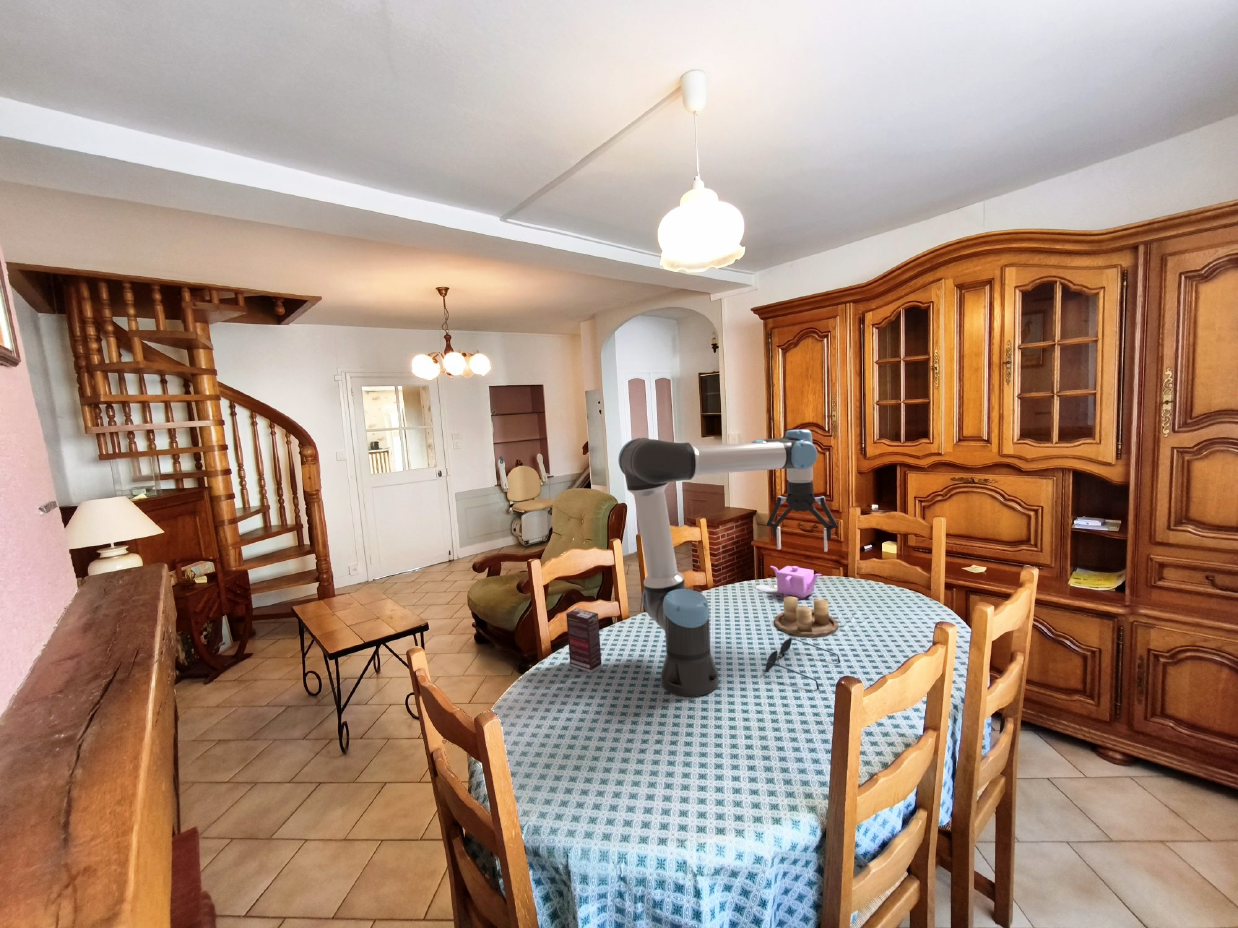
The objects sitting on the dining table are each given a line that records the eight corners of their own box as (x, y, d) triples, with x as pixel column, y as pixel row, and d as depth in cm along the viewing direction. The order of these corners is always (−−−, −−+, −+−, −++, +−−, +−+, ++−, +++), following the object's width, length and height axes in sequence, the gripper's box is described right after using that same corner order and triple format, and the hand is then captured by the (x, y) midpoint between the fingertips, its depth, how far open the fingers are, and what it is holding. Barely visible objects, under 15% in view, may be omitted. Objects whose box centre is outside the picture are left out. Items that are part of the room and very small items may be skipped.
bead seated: (831, 624, 168) (831, 603, 167) (818, 625, 168) (817, 604, 167) (824, 619, 172) (824, 598, 172) (811, 620, 172) (811, 599, 171)
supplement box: (602, 666, 152) (599, 612, 150) (591, 673, 148) (587, 618, 146) (580, 659, 157) (576, 607, 156) (569, 665, 153) (565, 612, 152)
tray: (850, 635, 161) (849, 629, 161) (789, 642, 159) (789, 635, 159) (820, 612, 180) (820, 607, 180) (766, 618, 178) (765, 612, 178)
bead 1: (789, 615, 177) (789, 595, 176) (801, 619, 174) (800, 598, 173) (781, 619, 174) (780, 598, 174) (793, 623, 171) (792, 602, 170)
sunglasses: (788, 650, 155) (790, 635, 154) (840, 670, 146) (842, 653, 145) (763, 675, 142) (765, 658, 141) (818, 698, 133) (820, 680, 132)
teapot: (780, 602, 191) (779, 573, 190) (770, 590, 205) (769, 562, 204) (822, 600, 191) (822, 571, 190) (810, 588, 204) (809, 560, 203)
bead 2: (812, 628, 166) (811, 606, 165) (811, 634, 162) (810, 612, 161) (797, 626, 168) (797, 605, 167) (796, 632, 164) (795, 610, 163)
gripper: (845, 478, 158) (846, 548, 160) (760, 479, 169) (762, 544, 171) (844, 482, 152) (846, 554, 154) (755, 482, 162) (758, 550, 164)
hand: (802, 549), depth 162 cm, fingers open, 13 cm apart
